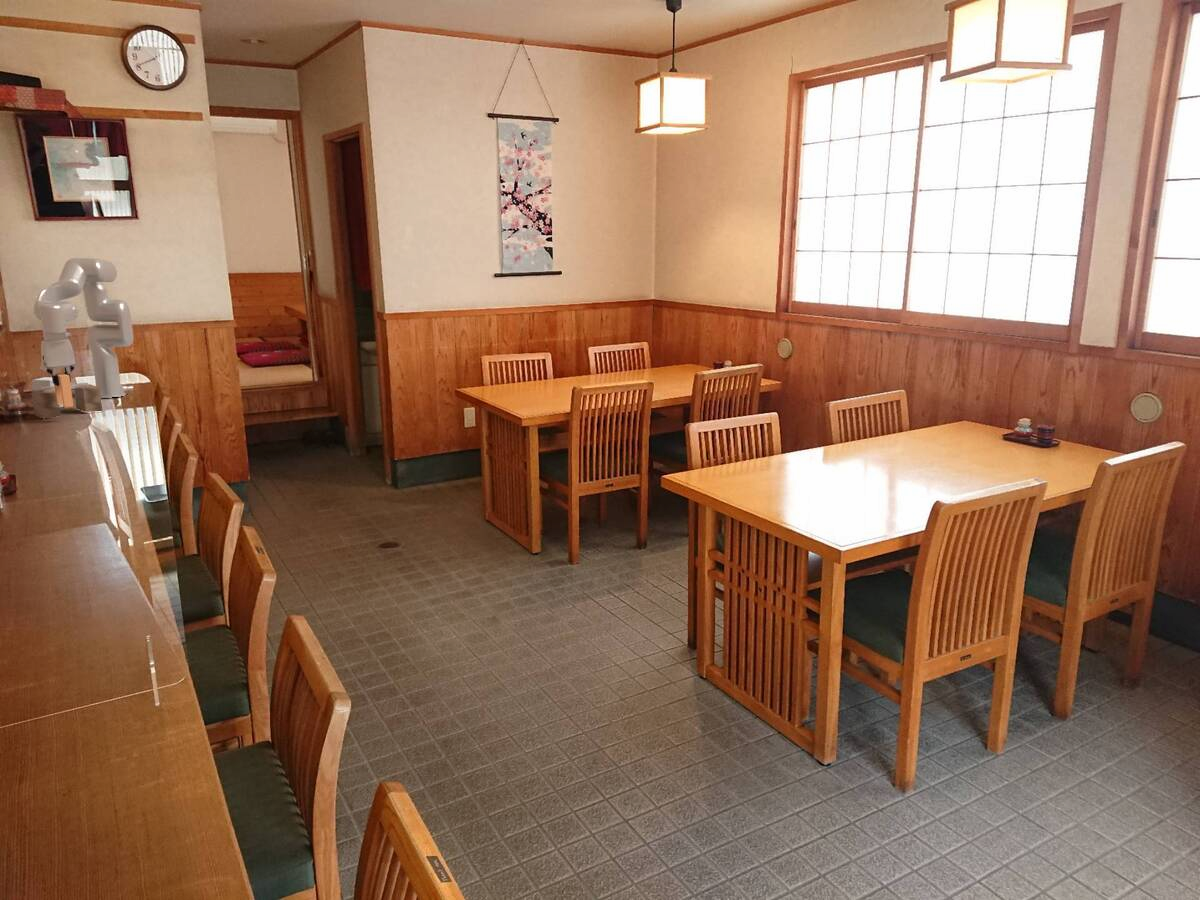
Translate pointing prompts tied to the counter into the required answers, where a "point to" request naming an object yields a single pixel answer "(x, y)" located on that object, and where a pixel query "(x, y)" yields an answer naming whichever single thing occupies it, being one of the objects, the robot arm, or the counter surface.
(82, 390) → the shelf
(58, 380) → the robot arm
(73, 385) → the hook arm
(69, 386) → the orange wooden block
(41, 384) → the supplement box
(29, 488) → the counter surface
